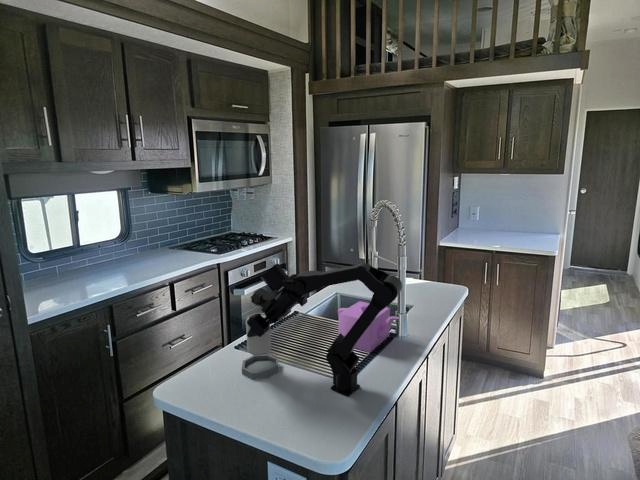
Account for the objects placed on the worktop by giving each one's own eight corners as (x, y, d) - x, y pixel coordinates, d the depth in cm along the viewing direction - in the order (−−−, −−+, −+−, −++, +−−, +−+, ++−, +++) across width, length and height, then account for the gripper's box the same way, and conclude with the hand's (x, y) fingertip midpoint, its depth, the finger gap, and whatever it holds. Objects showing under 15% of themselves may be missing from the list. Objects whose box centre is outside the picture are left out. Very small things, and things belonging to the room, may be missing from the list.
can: (260, 359, 130) (258, 322, 127) (242, 353, 134) (240, 317, 131) (276, 349, 136) (274, 314, 133) (258, 343, 140) (256, 309, 137)
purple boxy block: (388, 359, 143) (389, 320, 140) (327, 340, 157) (327, 304, 154) (407, 342, 155) (408, 306, 152) (348, 326, 169) (348, 292, 166)
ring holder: (286, 367, 138) (285, 361, 137) (259, 382, 129) (259, 376, 128) (261, 356, 145) (261, 351, 144) (235, 370, 136) (234, 364, 136)
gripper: (281, 273, 137) (253, 302, 143) (250, 292, 120) (220, 323, 127) (303, 299, 136) (275, 326, 142) (276, 321, 119) (245, 351, 125)
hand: (254, 331), depth 134 cm, fingers closed on can, 7 cm apart
